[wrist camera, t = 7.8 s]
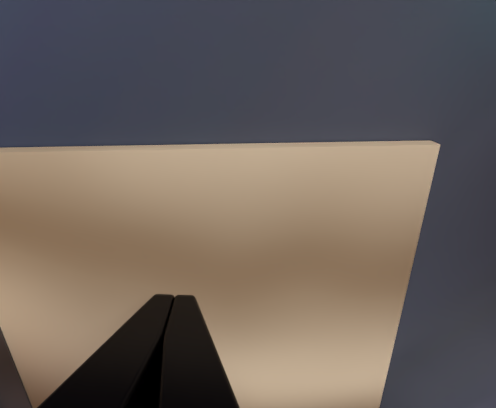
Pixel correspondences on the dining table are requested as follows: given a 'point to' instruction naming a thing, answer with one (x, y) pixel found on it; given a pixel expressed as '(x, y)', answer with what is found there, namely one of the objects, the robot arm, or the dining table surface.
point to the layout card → (214, 259)
